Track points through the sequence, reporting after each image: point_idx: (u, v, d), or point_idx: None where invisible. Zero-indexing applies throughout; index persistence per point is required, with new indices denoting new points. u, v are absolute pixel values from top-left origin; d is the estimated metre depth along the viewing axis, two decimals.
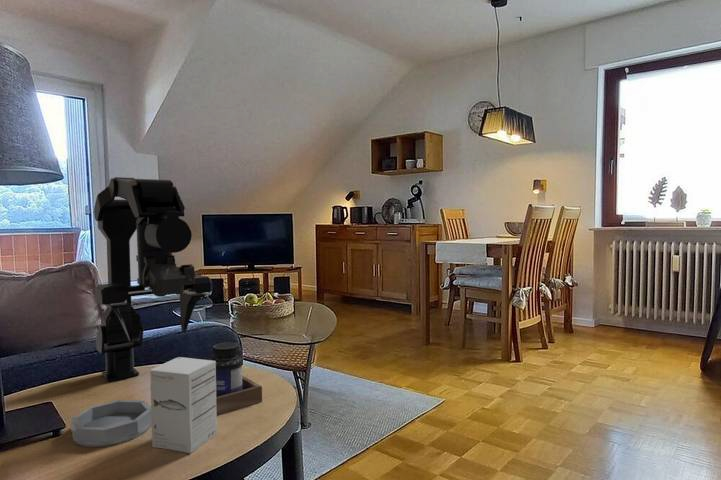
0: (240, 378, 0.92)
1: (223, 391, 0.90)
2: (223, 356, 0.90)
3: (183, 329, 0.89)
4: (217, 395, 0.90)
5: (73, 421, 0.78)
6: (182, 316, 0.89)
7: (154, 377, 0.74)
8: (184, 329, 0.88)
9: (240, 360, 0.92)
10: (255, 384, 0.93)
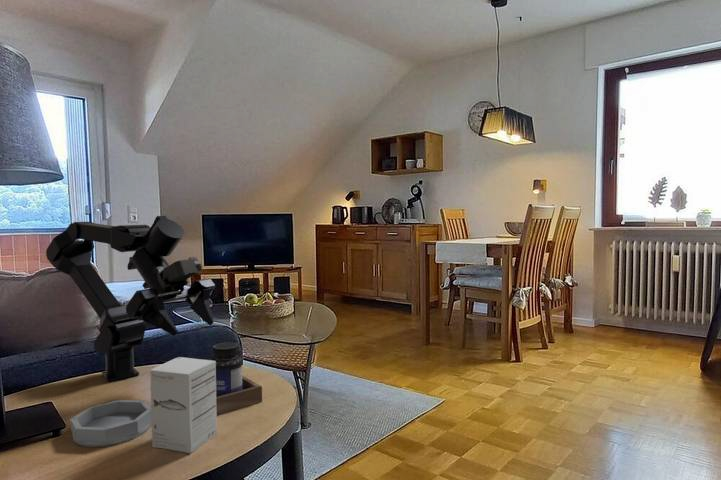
0: (240, 378, 0.92)
1: (223, 391, 0.90)
2: (223, 356, 0.90)
3: (210, 321, 1.00)
4: (217, 395, 0.90)
5: (73, 421, 0.78)
6: (203, 314, 1.01)
7: (154, 377, 0.74)
8: (211, 320, 1.00)
9: (240, 360, 0.92)
10: (255, 384, 0.93)
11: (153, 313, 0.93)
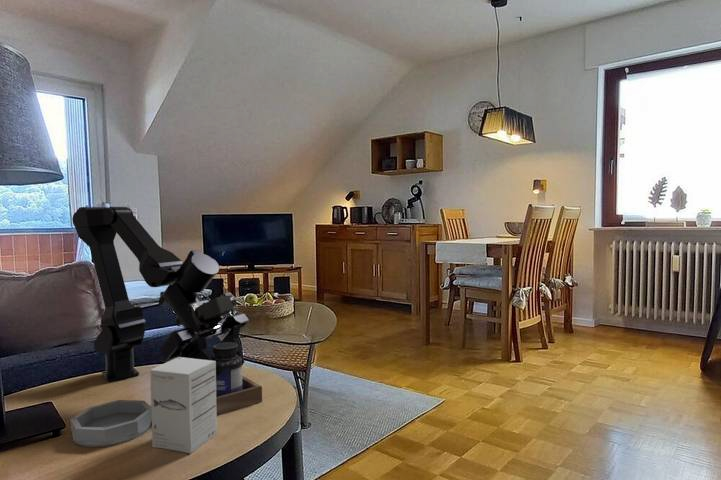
0: (240, 378, 0.92)
1: (223, 391, 0.90)
2: (223, 356, 0.90)
3: None
4: (217, 395, 0.90)
5: (73, 421, 0.78)
6: None
7: (154, 377, 0.74)
8: (242, 360, 0.95)
9: (240, 360, 0.92)
10: (255, 384, 0.93)
11: (194, 351, 0.90)
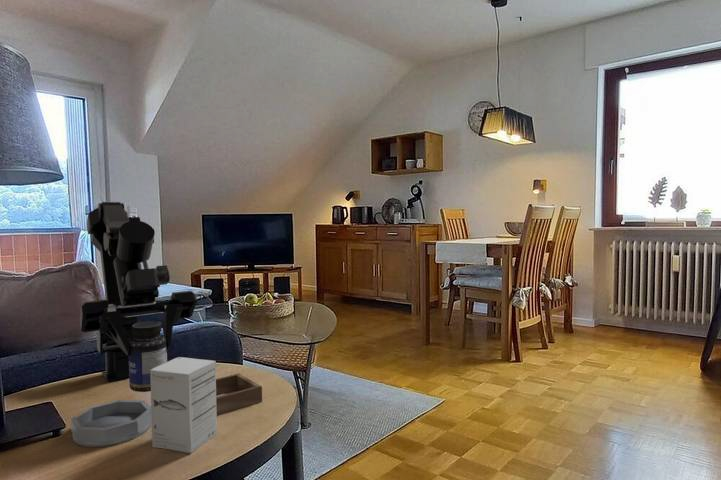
0: (157, 363, 0.81)
1: (134, 375, 0.80)
2: (137, 335, 0.81)
3: (167, 344, 0.83)
4: (130, 378, 0.81)
5: (73, 421, 0.78)
6: (165, 335, 0.85)
7: (154, 377, 0.74)
8: (168, 343, 0.83)
9: (158, 343, 0.81)
10: (255, 384, 0.93)
11: None
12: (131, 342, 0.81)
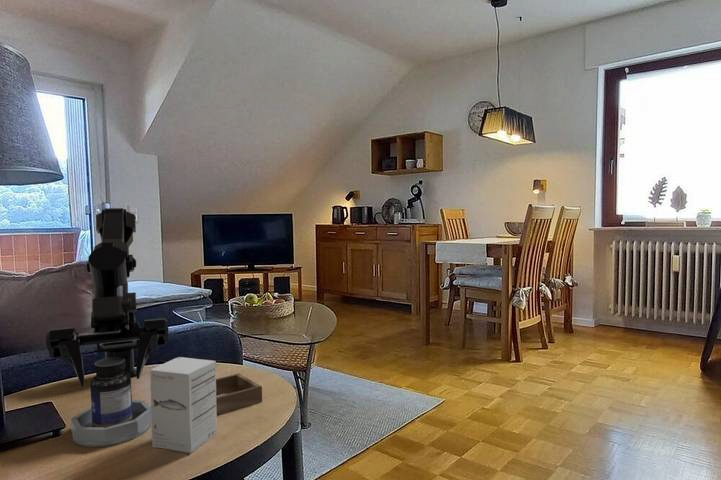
0: (116, 403, 0.79)
1: (94, 414, 0.78)
2: (98, 374, 0.79)
3: None
4: (92, 416, 0.79)
5: (73, 421, 0.78)
6: None
7: (154, 377, 0.74)
8: (137, 373, 0.81)
9: (117, 382, 0.79)
10: (255, 384, 0.93)
11: None
12: (92, 380, 0.79)
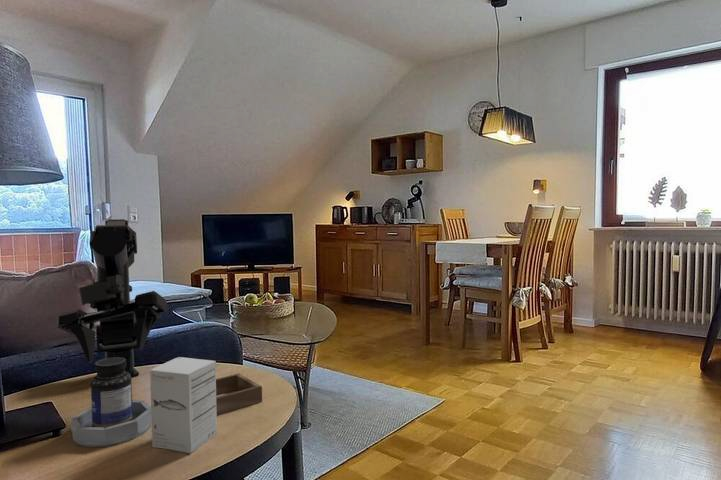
0: (116, 403, 0.79)
1: (94, 413, 0.78)
2: (98, 373, 0.79)
3: None
4: (92, 416, 0.79)
5: (73, 421, 0.78)
6: None
7: (154, 377, 0.74)
8: (137, 346, 0.89)
9: (118, 382, 0.79)
10: (255, 384, 0.93)
11: None
12: (93, 379, 0.79)
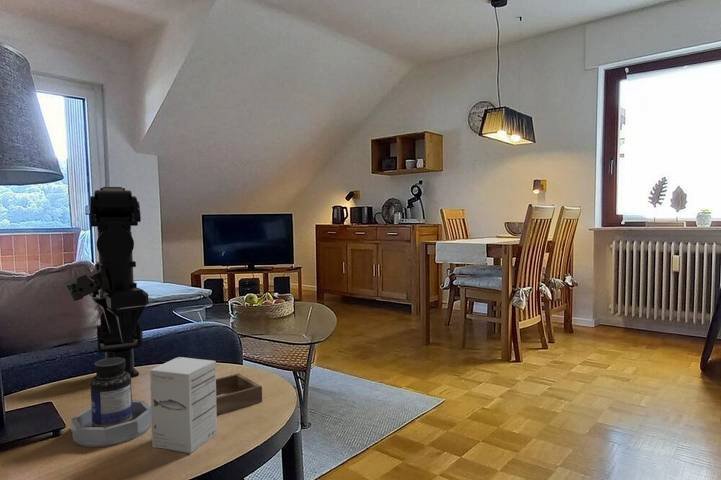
0: (116, 403, 0.79)
1: (94, 414, 0.78)
2: (98, 374, 0.79)
3: None
4: (92, 416, 0.79)
5: (73, 421, 0.78)
6: None
7: (154, 377, 0.74)
8: None
9: (118, 382, 0.79)
10: (255, 384, 0.93)
11: None
12: (92, 380, 0.79)
